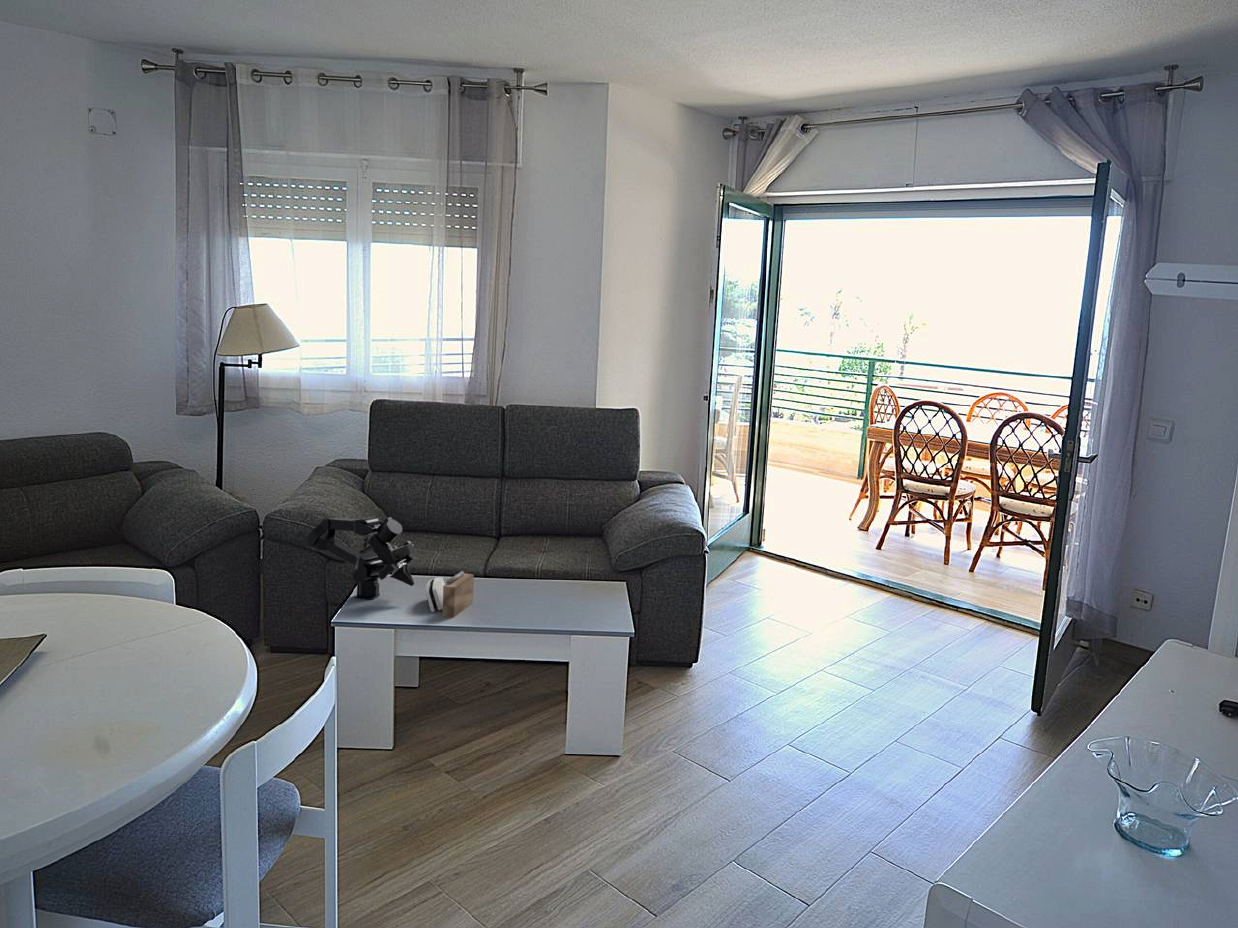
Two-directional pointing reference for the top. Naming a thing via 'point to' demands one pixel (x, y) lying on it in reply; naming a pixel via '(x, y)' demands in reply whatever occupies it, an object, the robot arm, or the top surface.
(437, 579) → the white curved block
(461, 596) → the tan flat boxy piece
